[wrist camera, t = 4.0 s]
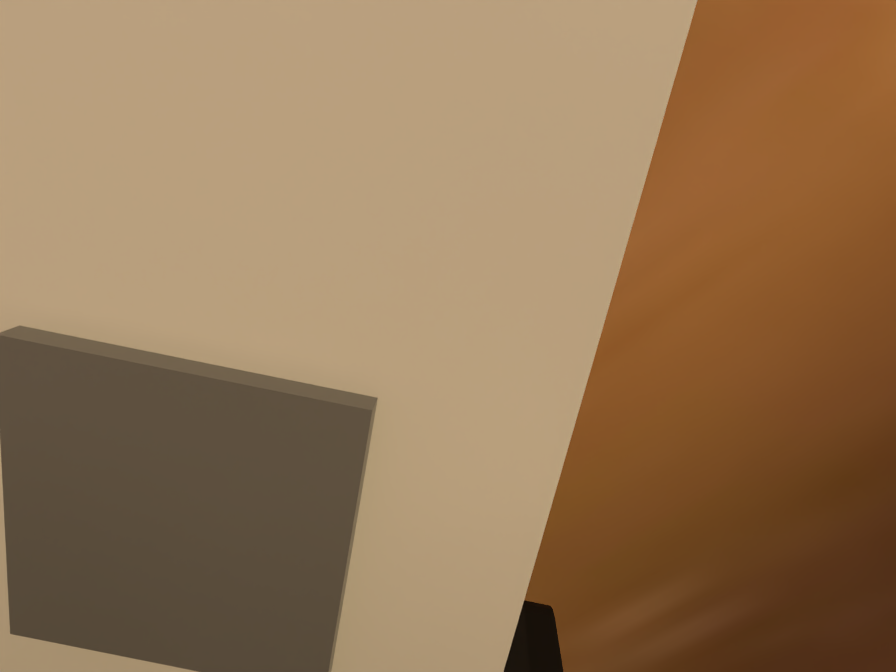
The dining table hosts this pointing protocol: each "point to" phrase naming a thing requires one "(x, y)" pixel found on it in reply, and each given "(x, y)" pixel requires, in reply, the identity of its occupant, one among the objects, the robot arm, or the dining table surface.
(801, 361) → the dining table surface
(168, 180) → the power strip
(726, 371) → the dining table surface
